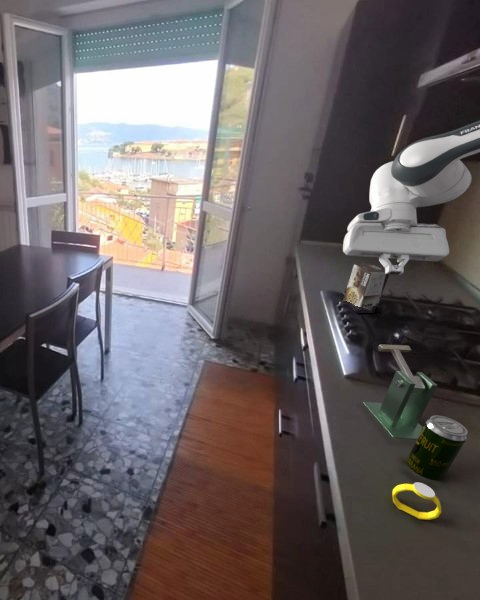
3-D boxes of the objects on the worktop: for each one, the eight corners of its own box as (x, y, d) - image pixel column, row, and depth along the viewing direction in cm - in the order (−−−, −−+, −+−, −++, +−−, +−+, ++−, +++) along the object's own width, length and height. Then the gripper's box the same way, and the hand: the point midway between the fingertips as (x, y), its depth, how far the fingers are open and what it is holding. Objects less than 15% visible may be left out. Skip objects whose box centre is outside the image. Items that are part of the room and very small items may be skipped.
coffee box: (375, 314, 127) (391, 271, 120) (357, 314, 127) (372, 272, 120) (358, 303, 135) (371, 262, 128) (340, 303, 135) (353, 263, 128)
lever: (375, 348, 83) (381, 342, 81) (403, 349, 82) (410, 344, 80) (397, 392, 76) (404, 387, 74) (428, 394, 75) (436, 389, 73)
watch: (387, 507, 63) (399, 484, 60) (387, 496, 64) (399, 473, 62) (433, 529, 59) (448, 505, 57) (432, 516, 61) (446, 492, 58)
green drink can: (424, 460, 71) (449, 414, 66) (449, 484, 66) (478, 436, 61) (397, 460, 71) (420, 414, 66) (420, 484, 66) (447, 437, 61)
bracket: (361, 405, 86) (379, 361, 80) (397, 407, 85) (418, 363, 79) (391, 441, 76) (414, 393, 70) (433, 444, 75) (459, 396, 69)
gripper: (435, 231, 89) (439, 282, 85) (340, 226, 95) (339, 274, 91) (453, 218, 83) (458, 272, 79) (350, 214, 89) (350, 264, 85)
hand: (394, 273), depth 85 cm, fingers closed
